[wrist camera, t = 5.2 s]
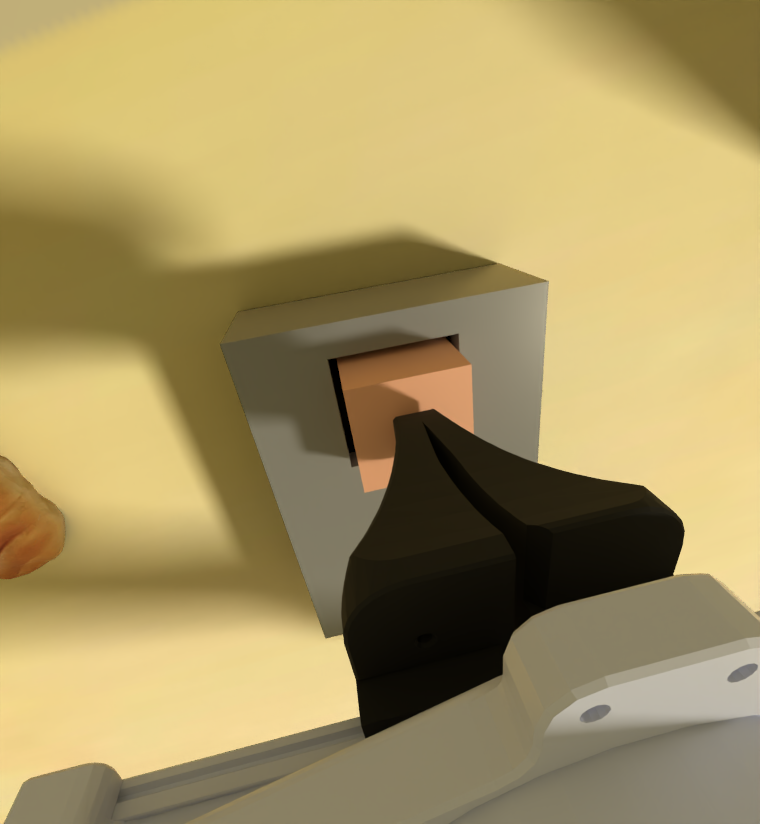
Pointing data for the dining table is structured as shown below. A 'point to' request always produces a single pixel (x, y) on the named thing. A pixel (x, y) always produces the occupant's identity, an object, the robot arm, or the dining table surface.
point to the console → (319, 411)
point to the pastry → (26, 525)
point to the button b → (401, 397)
